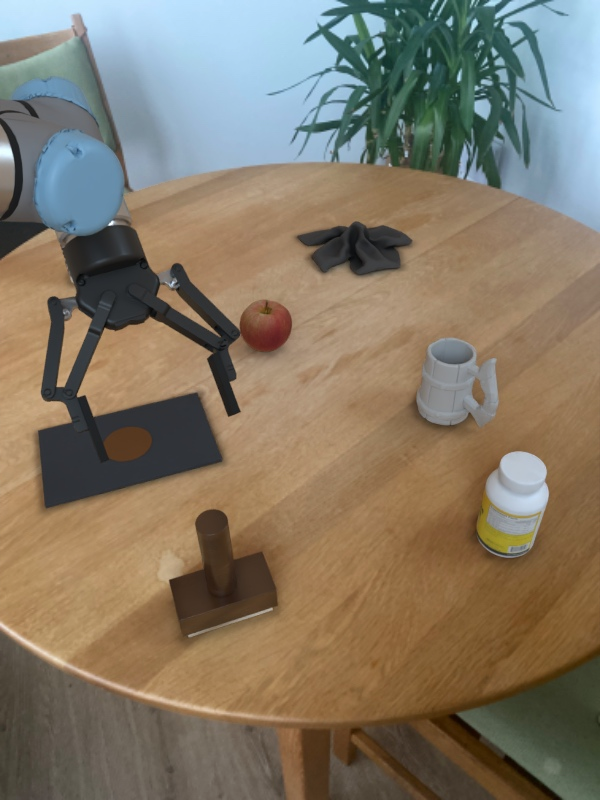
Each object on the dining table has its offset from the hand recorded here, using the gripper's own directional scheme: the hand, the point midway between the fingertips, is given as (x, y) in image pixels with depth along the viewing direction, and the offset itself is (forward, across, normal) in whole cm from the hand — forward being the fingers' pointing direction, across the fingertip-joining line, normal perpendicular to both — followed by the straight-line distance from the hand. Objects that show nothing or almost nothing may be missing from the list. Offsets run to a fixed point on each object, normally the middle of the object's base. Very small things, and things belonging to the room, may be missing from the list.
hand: (171, 437), depth 67 cm
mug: (+10, -39, -13) cm, 42 cm away
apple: (-9, -24, -32) cm, 41 cm away
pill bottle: (+24, -31, 0) cm, 39 cm away
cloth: (-23, -51, -46) cm, 72 cm away
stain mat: (-1, +2, -24) cm, 24 cm away
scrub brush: (+18, 0, -4) cm, 19 cm away
